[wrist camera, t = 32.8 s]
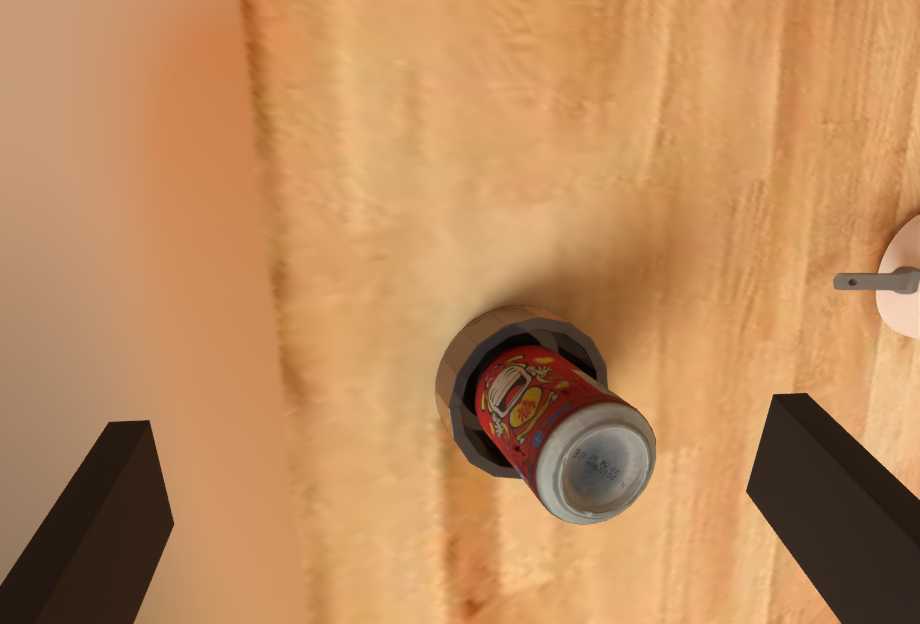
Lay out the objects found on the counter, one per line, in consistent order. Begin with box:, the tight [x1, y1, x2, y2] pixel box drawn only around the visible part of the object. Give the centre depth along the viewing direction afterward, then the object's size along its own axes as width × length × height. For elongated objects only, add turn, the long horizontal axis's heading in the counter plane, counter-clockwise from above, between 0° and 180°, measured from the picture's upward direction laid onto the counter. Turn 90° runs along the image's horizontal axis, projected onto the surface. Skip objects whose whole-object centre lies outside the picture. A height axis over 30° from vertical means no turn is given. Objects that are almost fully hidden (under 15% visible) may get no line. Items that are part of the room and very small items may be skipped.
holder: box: [435, 305, 608, 479], centre depth 42 cm, size 11×11×4 cm
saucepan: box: [833, 214, 920, 340], centre depth 49 cm, size 12×20×6 cm, turn 85°
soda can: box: [474, 345, 656, 525], centre depth 38 cm, size 7×7×12 cm
